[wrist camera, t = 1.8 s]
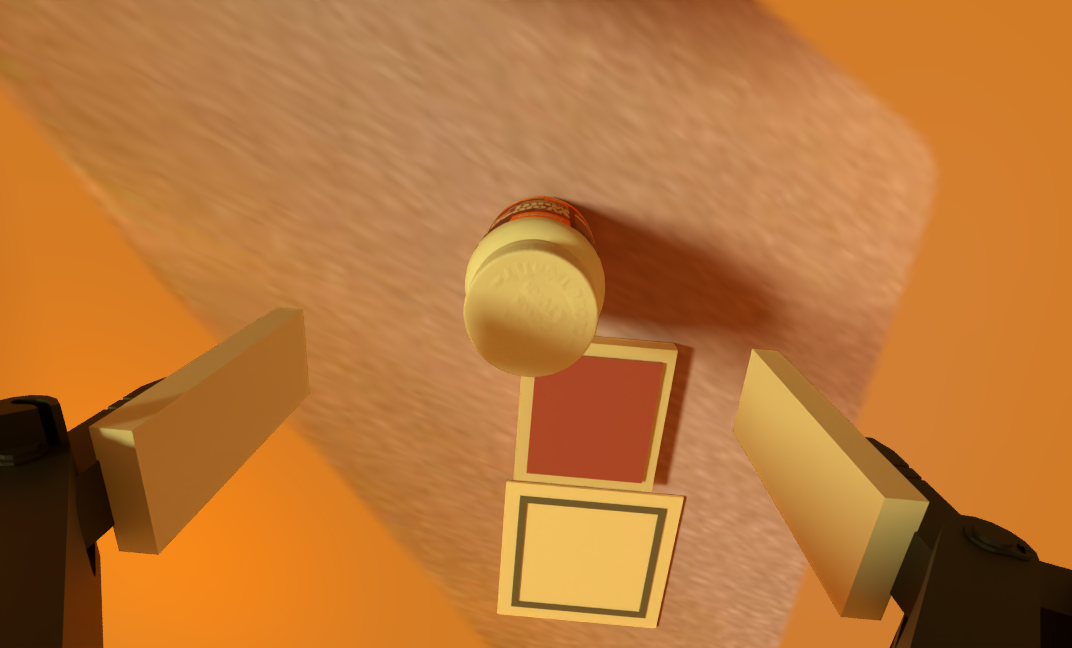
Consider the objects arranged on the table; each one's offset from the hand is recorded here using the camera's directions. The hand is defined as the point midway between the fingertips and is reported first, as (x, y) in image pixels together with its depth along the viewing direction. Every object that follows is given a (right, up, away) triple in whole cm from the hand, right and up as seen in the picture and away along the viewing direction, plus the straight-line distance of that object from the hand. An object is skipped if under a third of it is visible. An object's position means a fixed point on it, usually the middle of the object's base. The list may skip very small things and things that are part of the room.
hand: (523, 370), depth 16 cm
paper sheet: (+4, -15, +22) cm, 27 cm away
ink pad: (+4, -4, +18) cm, 19 cm away
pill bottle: (+1, +6, +15) cm, 16 cm away
